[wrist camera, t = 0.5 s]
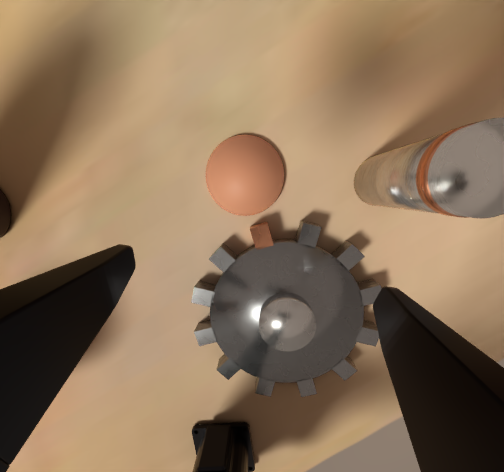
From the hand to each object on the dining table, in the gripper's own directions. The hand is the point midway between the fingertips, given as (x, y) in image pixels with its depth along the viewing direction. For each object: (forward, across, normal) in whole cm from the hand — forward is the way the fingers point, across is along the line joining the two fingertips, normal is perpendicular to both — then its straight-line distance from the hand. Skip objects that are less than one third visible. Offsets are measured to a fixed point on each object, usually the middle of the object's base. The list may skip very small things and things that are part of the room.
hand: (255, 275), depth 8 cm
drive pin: (+14, -10, 0) cm, 18 cm away
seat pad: (+14, +2, +1) cm, 14 cm away
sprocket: (+10, -4, +12) cm, 16 cm away
